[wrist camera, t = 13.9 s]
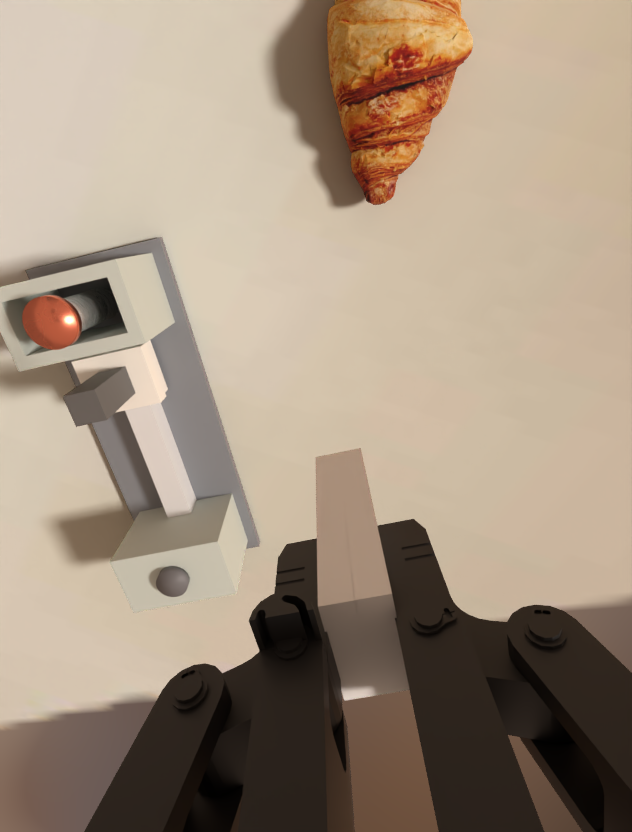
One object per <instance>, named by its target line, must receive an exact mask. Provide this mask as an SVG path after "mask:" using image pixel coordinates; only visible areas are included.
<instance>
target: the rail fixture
mask: <svg viewBox="0 0 632 832" xmlns="http://www.w3.org/2000/svg"><path fill="white" fill-rule="evenodd" d="M25 271H26V273H27V275H28V278H29V280H27V281H23V282H19V283H15V284H10V285H6V286H2V287H0V333H1V335H2V337H3V339H4V341H5V343H6V345H7V347H8V350H9V352H10V354H11V356H12V358H13V360H14V362H15V364H16V366H17V369H18V371H19V372H20V371H25V370H29V369H34V368H38V367H42V366H47V365H51V364H56V363H60V362H64V361H65V363H66V365H67V368H68V370H69V372H70V374H71V377H72V379H73V381H74V384H75V386H76V387H77V386H79V385H80V381H79V379H78V377H77V374H76V372H75V370H74V367H73V365H72V363H71V362H72V361H74V360H76V359H78V358H82V357H87V356H91V355H95V354H100V353H104V352H109V351H113V350H117V349H122V348H126V347H131V346H135V345H139V344H144V343H147V342H148V341H149V340H150V341H151V343H152V346H153V349H154V352H155V354H156V357H157V360H158V363H159V366H160V368H161V371H162V374H163V377H164V380H165V382H166V385H167V388H168V390H167V391H166V392H165V394H166V397H165V399H164V400H163V401H162V402H161V403H157V404H152V405H148V406H143V407H139V408H134V409H129V410H125V411H120V412H115V413H114V414H113V415H112V416H111V417H110V418H109V419H108V420H105V421H100V422H96V423H92V425H93V428H94V430H95V432H96V434H97V437H98V439H99V441H100V444H101V446H102V448H103V451H104V453H105V455H106V458H107V460H108V462H109V464H110V467H111V469H112V471H113V474H114V476H115V478H116V481H117V483H118V485H119V487H120V490H121V492H122V494H123V497H124V499H125V501H126V504H127V506H128V508H129V511H130V513H131V515H132V517H133V520H134V522H133V524H132V525H131V527H130V529H129V530H128V532H127V534H126V535H125V537H124V539H123V540H122V542H121V544H120V545H119V547H118V549H117V550H116V552H115V554H114V555H113V557H112V559H111V560H110V564H111V566H112V569H113V571H114V573H115V575H116V577H117V579H118V581H119V583H120V585H121V588H122V590H123V592H124V594H125V596H126V598H127V600H128V602H129V604H130V607H131V609H132V611H133V613H137V612H142V611H148V610H153V609H158V608H164V607H169V606H175V605H180V604H186V603H191V602H197V601H202V600H208V599H213V598H219V597H224V596H230V595H235V594H237V591H238V586H239V581H240V576H241V571H242V566H243V561H244V556H245V552H246V549H247V548H253V547H258V546H259V544H260V540H259V537H258V534H257V531H256V528H255V525H254V522H253V519H252V515H251V512H250V509H249V506H248V503H247V500H246V497H245V494H244V491H243V487H242V484H241V481H240V478H239V475H238V472H237V469H236V466H235V463H234V460H233V456H232V453H231V450H230V447H229V444H228V441H227V438H226V435H225V432H224V428H223V425H222V422H221V419H220V416H219V413H218V410H217V407H216V404H215V400H214V397H213V394H212V391H211V388H210V385H209V382H208V379H207V376H206V373H205V369H204V366H203V363H202V360H201V357H200V354H199V351H198V348H197V345H196V341H195V338H194V335H193V332H192V329H191V326H190V323H189V320H188V317H187V313H186V310H185V307H184V304H183V301H182V298H181V295H180V292H179V289H178V286H177V282H176V279H175V276H174V273H173V270H172V267H171V264H170V261H169V258H168V254H167V251H166V248H165V245H164V242H163V239H162V237H161V238H156V239H152V240H147V241H143V242H139V243H135V244H131V245H127V246H123V247H119V248H115V249H111V250H106V251H102V252H98V253H94V254H90V255H86V256H82V257H78V258H74V259H69V260H65V261H61V262H57V263H53V264H49V265H45V266H41V267H37V268H32V269H28V270H25ZM96 288H105V289H107V290H109V291H111V292H112V293H113V294H114V297H115V299H116V302H117V305H118V311H117V313H116V315H115V316H113V317H112V318H110V319H108V320H105V321H103V322H101V323H99V324H97V325H95V326H92V327H90V328H88V329H86V330H84V331H82V332H81V335H80V337H79V338H78V340H77V341H76V342H75V343H73V344H71V345H69V346H67V347H65V348H63V349H59V350H51V349H46V348H44V347H42V346H40V345H38V344H36V343H35V342H34V341H33V340H32V339H31V338H30V337H29V336H28V334H27V333H26V331H25V329H24V326H23V322H22V314H23V310H24V308H25V306H26V305H27V303H28V302H29V301H31V300H32V299H34V298H37V297H41V296H45V295H56V296H59V297H62V298H66V297H69V296H72V295H76V294H79V293H83V292H86V291H89V290H93V289H96Z"/></svg>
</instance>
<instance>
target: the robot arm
mask: <svg viewBox="0 0 632 832" xmlns="http://www.w3.org/2000/svg"><path fill="white" fill-rule="evenodd" d="M316 514H317V539H312V540H306V541H301V542H296V543H291V544H287V545H286V546H285V548H284V549H283V551H282V553H281V554H280V556H279V557H278V565H277V575H276V587H275V594H273V595H270V596H269V597H267V598H266V599H264V600H263V601H261V602H260V603H259V604H258V605H257V607H256V608H255V609H254V610H253V612H252V614H251V617H250V619H249V622H250V625H251V628H252V631H253V634H254V636H255V639H256V642H257V645H258V647H259V650H260V652H259V653H258V654H256V655H255V656H254V657H253V658H252V659H250V660H248V661H247V662H245V663H243V664H242V665H239V666H237V667H235V668H233V669H231V670H229V671H227V672H225V673H221V672H220V670H219V669H218V668H217V667H216V666H213V665H209V664H199V665H193V666H191V667H189V668H186V669H184V670H182V671H181V672H179V673H178V674H177V675H176V676H174V677H173V678H172V679H171V680H170V681H169V682H168V684H167V685H166V686H165V688H164V689H163V690H162V692H161V694H160V695H159V697H158V699H157V701H156V703H155V705H154V706H153V708H152V710H151V712H150V714H149V715H148V717H147V719H146V721H145V723H144V724H143V726H142V728H141V730H140V732H139V733H138V736H137V737H136V739H135V741H134V743H133V745H132V746H131V748H130V750H129V752H128V754H127V755H126V757H125V759H124V761H123V762H122V764H121V766H120V768H119V770H118V772H117V773H116V775H115V777H114V779H113V781H112V783H111V784H110V786H109V788H108V790H107V791H106V794H105V795H104V797H103V799H102V801H101V803H100V804H99V806H98V808H97V810H96V811H95V813H94V815H93V817H92V819H91V821H90V822H89V824H88V826H87V828H86V830H85V832H355V827H354V813H353V799H352V785H351V771H350V758H349V745H348V731H347V724H346V720H345V716H344V713H343V710H342V694H343V697H344V700H351V699H357V698H363V697H369V696H375V695H382V694H387V693H393V692H400V691H406V690H410V693H411V699H412V704H413V708H414V713H415V718H416V723H417V728H418V733H419V737H420V742H421V747H422V752H423V757H424V762H425V767H426V771H427V776H428V781H429V786H430V791H431V796H432V800H433V805H434V810H435V815H436V820H437V825H438V830H439V832H544V830H543V827H542V825H541V822H540V819H539V817H538V814H537V811H536V809H535V806H534V803H533V802H532V798H531V796H530V793H529V790H528V788H527V785H526V782H525V780H524V777H523V774H522V772H521V769H520V767H519V764H518V761H517V759H516V756H515V754H514V751H513V748H512V745H511V743H510V740H509V738H508V735H512V736H518V737H520V738H521V741H522V742H523V744H524V745H525V746H526V748H527V749H528V751H529V752H530V754H531V755H532V757H533V758H534V760H535V761H536V763H537V764H538V766H539V767H540V769H541V770H542V772H543V773H544V775H545V776H546V778H547V779H548V781H549V782H550V783H551V785H552V787H553V788H554V790H555V791H556V793H557V794H558V795H559V797H560V798H561V800H562V802H563V803H564V804H565V806H566V808H567V809H568V810H569V812H570V813H571V815H572V816H573V818H574V819H575V821H576V822H577V824H578V825H579V827H580V828H581V830H582V831H583V832H632V673H631V672H630V671H629V670H628V669H627V668H626V667H625V666H624V665H623V664H622V663H621V662H620V661H619V660H618V659H617V658H615V657H614V656H613V655H612V654H611V653H610V652H609V651H608V650H607V649H606V648H605V647H604V646H603V645H602V644H601V643H600V642H599V641H598V640H597V639H596V638H595V637H594V636H592V635H591V633H589V632H588V631H587V630H586V629H585V628H584V627H583V626H582V625H581V624H580V623H579V622H578V621H577V620H576V619H574V618H573V617H572V616H570V615H569V614H567V613H566V612H564V611H562V610H559V609H557V608H554V607H551V606H543V605H532V606H527V607H522V608H520V609H519V610H517V611H516V612H514V613H512V615H511V616H510V618H509V620H508V622H499V621H489V620H483V619H478V618H476V617H473V616H470V615H468V614H467V613H465V612H463V611H462V610H460V609H459V608H458V607H457V606H456V605H455V604H454V602H453V600H452V598H451V596H450V594H449V591H448V588H447V586H446V583H445V580H444V578H443V575H442V572H441V570H440V567H439V564H438V561H437V559H436V556H435V554H434V551H433V548H432V545H431V543H430V540H429V537H428V535H427V532H426V529H425V528H424V527H422V526H421V525H420V524H419V523H418V522H417V521H415V520H414V519H411V520H405V521H400V522H395V523H390V524H384V525H379V526H377V522H376V517H375V513H374V508H373V503H372V499H371V494H370V489H369V485H368V480H367V476H366V471H365V466H364V462H363V457H362V452H361V448H359V449H354V450H349V451H344V452H339V453H334V454H329V455H324V456H319V457H316ZM341 690H342V693H341Z"/></svg>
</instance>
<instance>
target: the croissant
mask: <svg viewBox="0 0 632 832" xmlns="http://www.w3.org/2000/svg"><path fill="white" fill-rule="evenodd" d="M327 23H328V25H327V40H328V57H329V72H330V79H331V84H332V88H333V93H334V98H335V101H336V104H337V107H338V111H339V115H340V119H341V125H342V129H343V132H344V136H345V138H346V141H347V143H348V147H349V149H350V151H351V153H352V155H351V168H352V172H353V174H354V176H355V177H356V179H357V181H358V182H359V184H360V186H361V188H362V189H363V191H364V195H365V197H366V201H367V202H369V203H372V204H373V205H379V204H382V203H385V202H387V201H388V200H390V199H391V198H392V197H393V196H394V192H395V187H396V181H397V179H398V174H401V173H402V172H404V171H405V170H406V169H407V168H408V167H409V166H410V165H411V164H412V163H413V162H414V161H415V160H416V158H417V157H418V155H419V153H420V151H421V149H422V148H423V147H424V144H423V141H424V139H425V136H426V135H428V134H429V131H430V125H431V122H432V119H433V118H434V117H436V116H437V115H438V114H439V112H440V111H441V110H442V107H444V106H445V104H446V102H447V99H448V96H449V92H450V89H451V86H452V83H453V79H454V75H455V72H456V69H457V67H458V66H459V65H461V64H462V63H463V62H464V60H466V59H467V58H468V56H469V55H470V53H471V51H472V45H473V40H472V36H471V34H470V31H469V30H468V29H467V25H466V23H465V21H464V20H463V19H462V18H461V0H335V3H334V6H333V7H332V8H330V9H329V13H328V19H327Z"/></svg>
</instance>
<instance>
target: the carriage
mask: <svg viewBox="0 0 632 832" xmlns="http://www.w3.org/2000/svg"><path fill="white" fill-rule="evenodd" d="M71 363H72V365H73V367H74V370H75V372H76V374H77V377H78V379H79V381H80V385H79V386H77V387H76V388H74V389H73V390H71V391H70V392H69V393H67V394H66V395H64V396H63V398H64V400H65V403H66V405H67V407H68V409H69V412H70V414H71V416H72V418H73V421H74V423H75V425H76V427H77V426H82V425H86V424H91V423H96V422H100V421H105V420H108V419H109V418H110V417H111V416H112V415H113V414H114V413H115V412H120V411H125V410H129V409H134V408H139V407H143V406H148V405H152V404H157V403H161V402H162V401H163V400H164V399H165V397H166V394H165V392H166V391H167V390H168V388H167V385H166V382H165V380H164V377H163V374H162V371H161V368H160V366H159V363H158V360H157V357H156V354H155V352H154V349H153V346H152V343H151V341H150V340H149V341H148V342H147V343H144V344H139V345H135V346H131V347H126V348H122V349H117V350H113V351H109V352H104V353H100V354H95V355H91V356H87V357H82V358H78V359H76V360H74V361H72V362H71Z"/></svg>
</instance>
